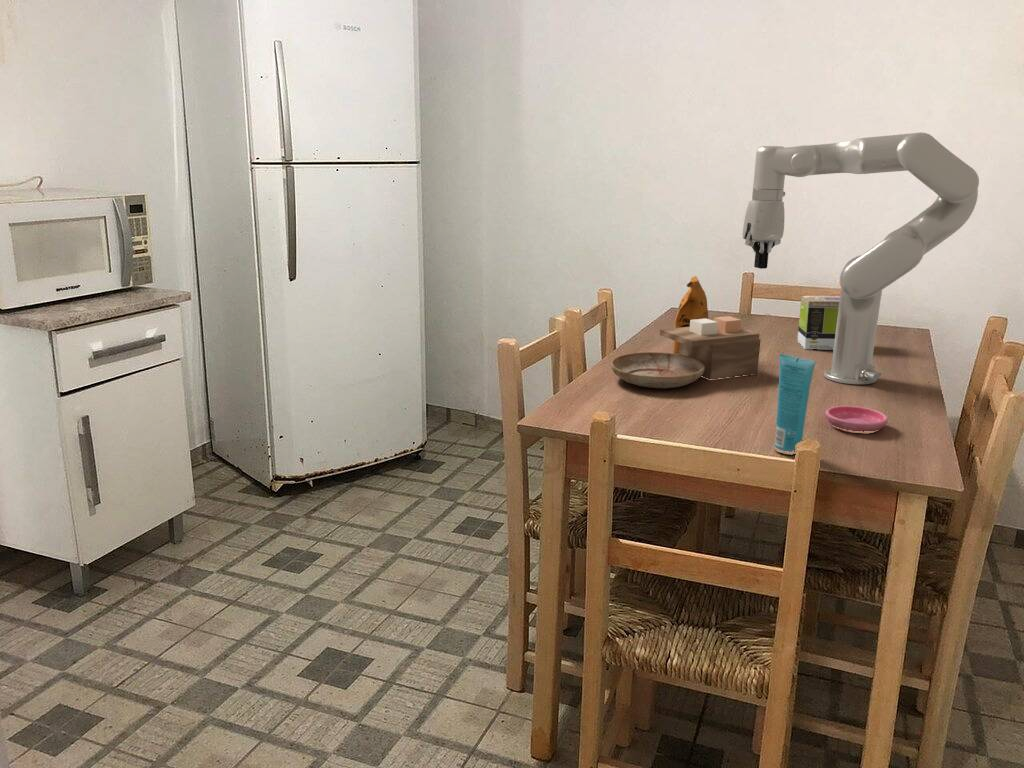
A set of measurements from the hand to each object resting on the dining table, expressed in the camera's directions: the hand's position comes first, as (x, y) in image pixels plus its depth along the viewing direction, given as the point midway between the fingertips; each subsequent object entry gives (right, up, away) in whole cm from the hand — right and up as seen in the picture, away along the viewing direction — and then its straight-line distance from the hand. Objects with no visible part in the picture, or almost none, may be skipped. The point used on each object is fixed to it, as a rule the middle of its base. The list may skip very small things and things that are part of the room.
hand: (760, 267), depth 220 cm
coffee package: (-15, -23, +18) cm, 33 cm away
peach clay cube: (-9, -16, +1) cm, 18 cm away
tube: (-11, -44, -54) cm, 70 cm away
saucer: (+9, -40, -39) cm, 57 cm away
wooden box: (-14, -27, +2) cm, 31 cm away
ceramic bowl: (-28, -30, -7) cm, 42 cm away
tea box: (+29, -20, +31) cm, 46 cm away
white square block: (-16, -17, -2) cm, 23 cm away
